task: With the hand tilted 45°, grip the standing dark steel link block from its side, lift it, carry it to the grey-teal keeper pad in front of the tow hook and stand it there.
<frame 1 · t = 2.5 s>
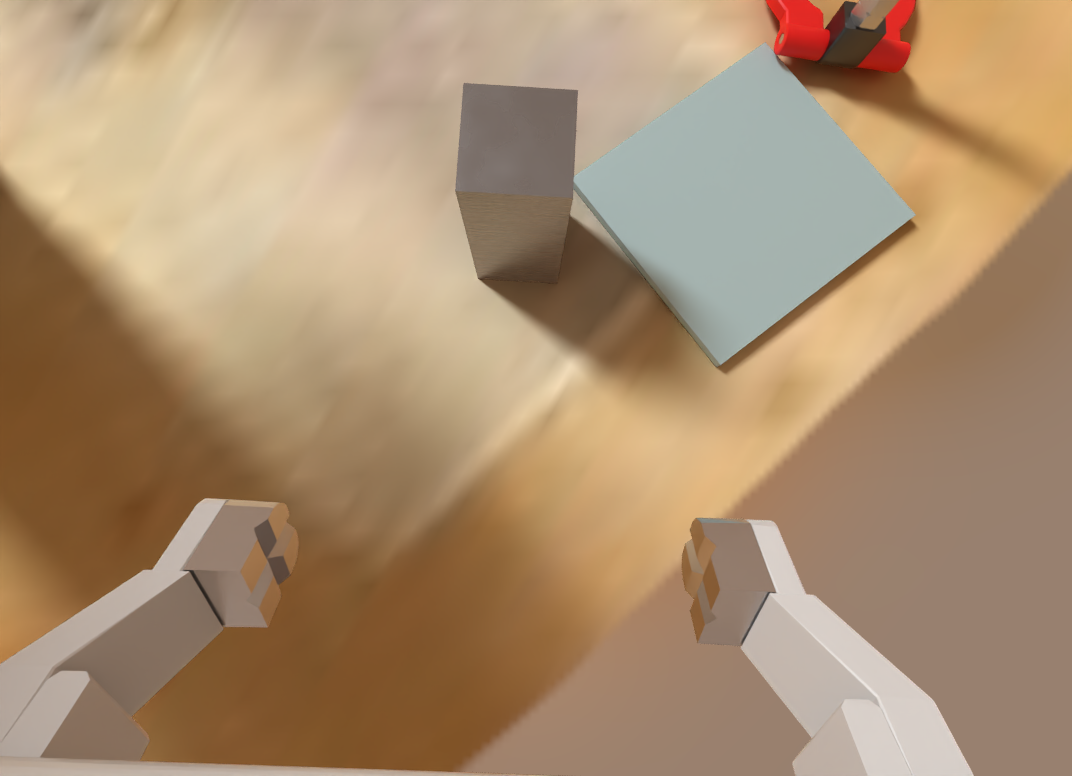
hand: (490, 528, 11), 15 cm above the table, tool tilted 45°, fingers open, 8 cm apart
tow hook: (828, 1, 30), on the table, touching keeper pad
link block: (519, 243, 27), on the table
keeper pad: (739, 202, 28), on the table
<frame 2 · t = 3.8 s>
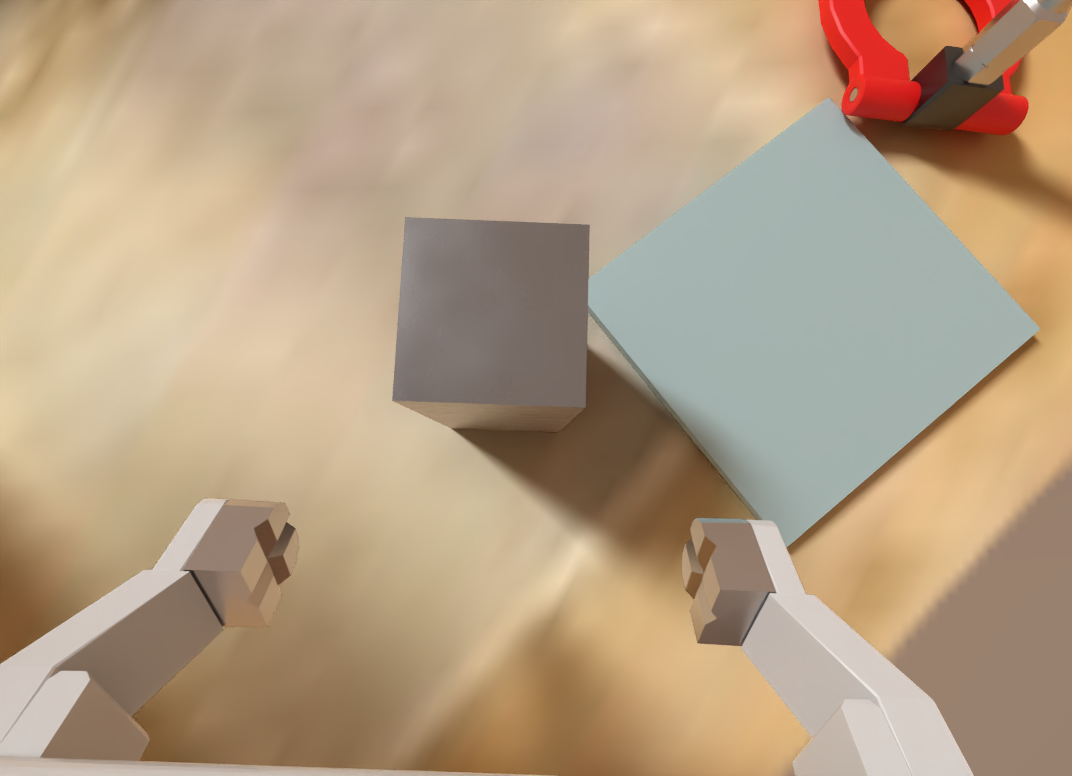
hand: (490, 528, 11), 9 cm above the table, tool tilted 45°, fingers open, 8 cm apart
tow hook: (907, 40, 22), on the table, touching keeper pad
link block: (507, 377, 20), on the table
keeper pad: (800, 313, 21), on the table
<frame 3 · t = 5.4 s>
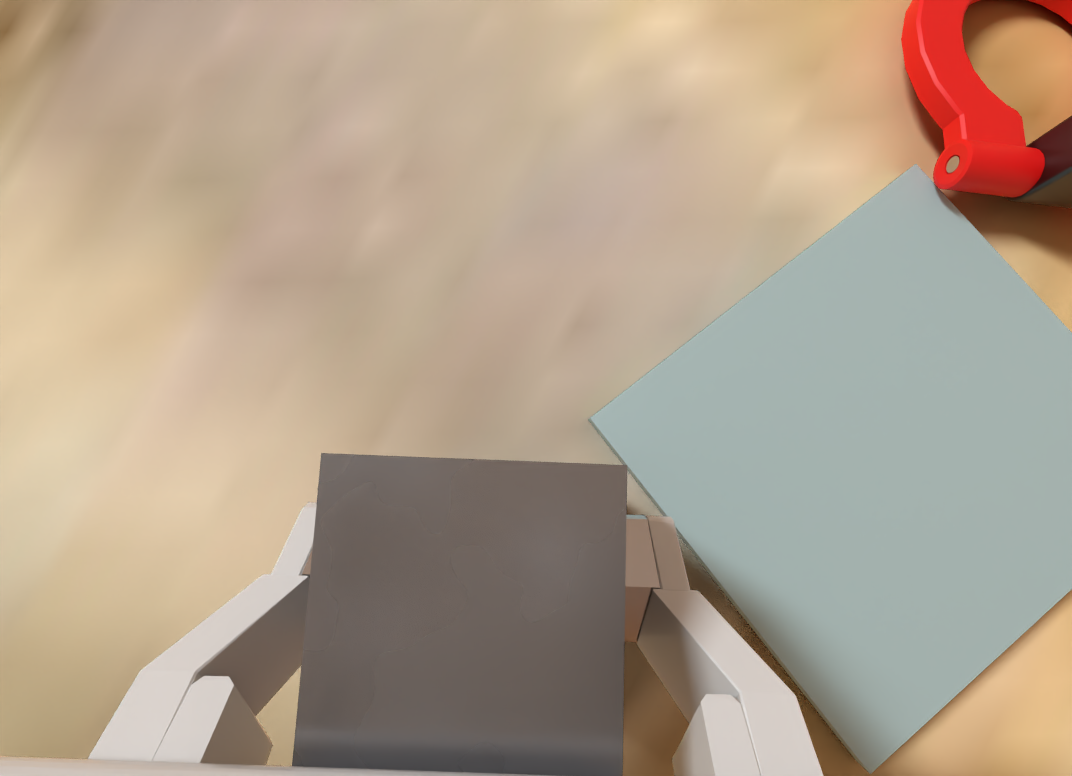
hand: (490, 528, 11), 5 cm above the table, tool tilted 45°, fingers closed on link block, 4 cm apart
tow hook: (1012, 87, 18), on the table, touching keeper pad
link block: (501, 530, 16), on the table, touching gripper
keeper pad: (881, 445, 16), on the table
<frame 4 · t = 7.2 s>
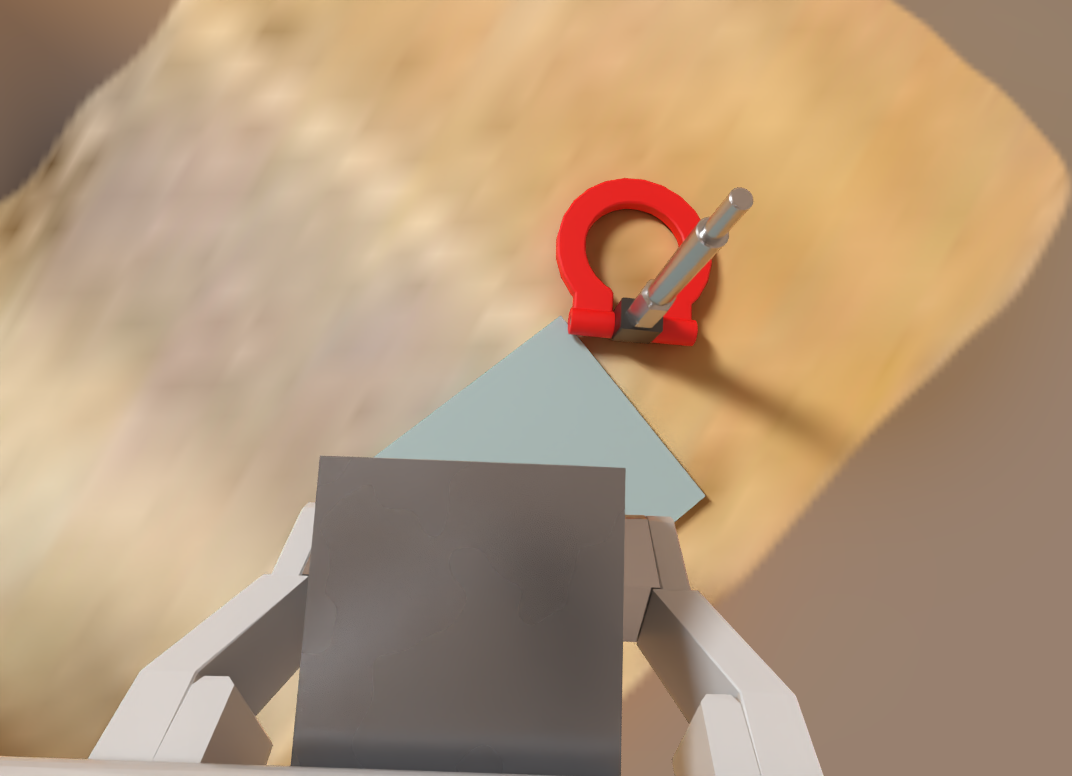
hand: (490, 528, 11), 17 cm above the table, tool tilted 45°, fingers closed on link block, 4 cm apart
tow hook: (629, 265, 30), on the table, touching keeper pad
link block: (500, 531, 16), point 12 cm above the table, touching gripper
keeper pad: (533, 481, 28), on the table
when the fingers open (7 cm above the table, at t = 9.5 s): link block drops 1 cm, resting on keeper pad.
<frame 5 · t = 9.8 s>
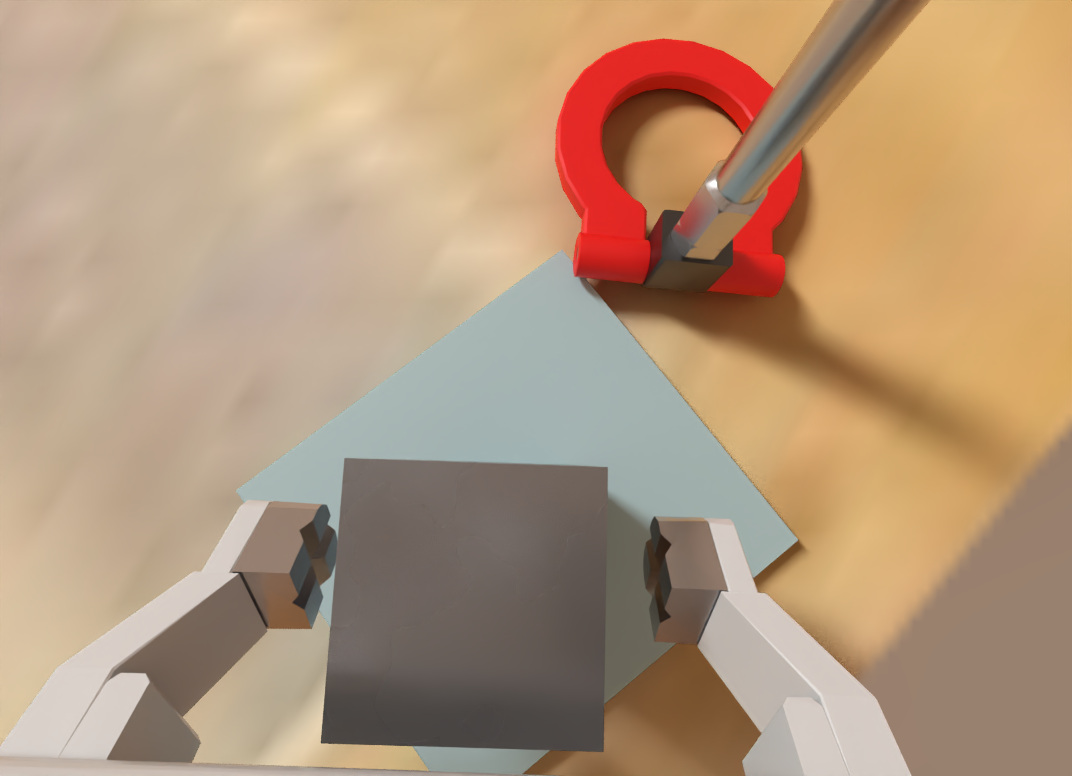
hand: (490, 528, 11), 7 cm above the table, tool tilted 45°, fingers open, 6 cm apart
tow hook: (670, 174, 19), on the table, touching keeper pad
link block: (501, 527, 17), point 1 cm above the table, touching keeper pad
keeper pad: (517, 513, 17), on the table
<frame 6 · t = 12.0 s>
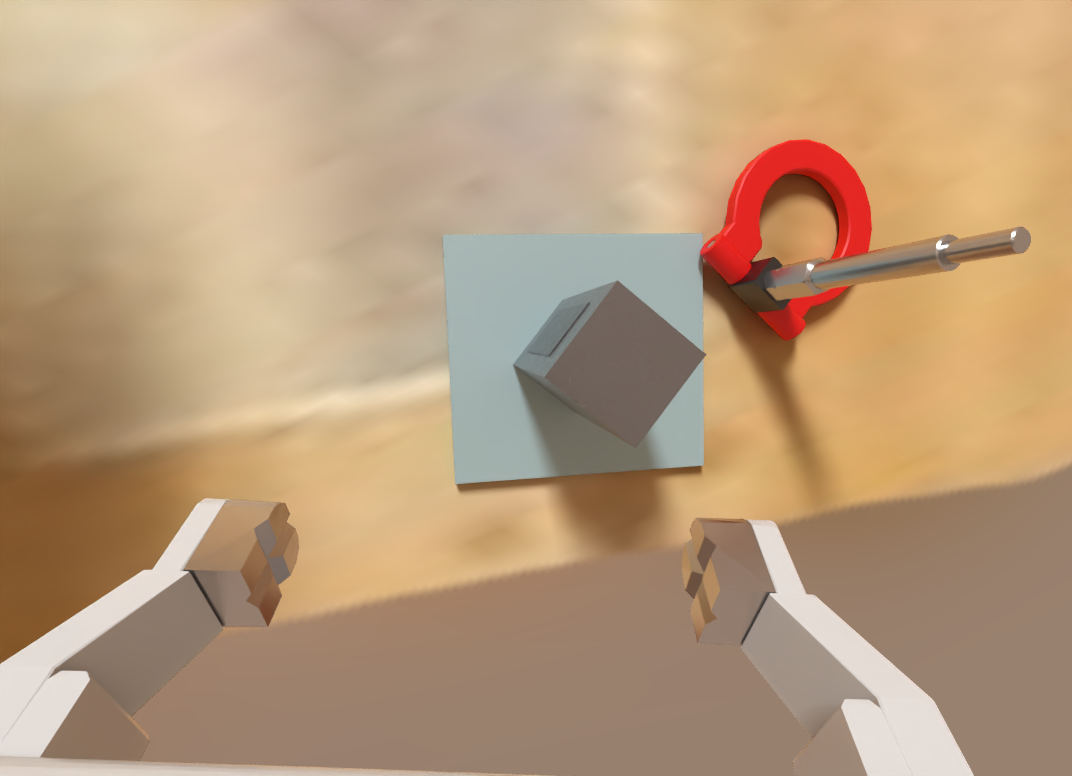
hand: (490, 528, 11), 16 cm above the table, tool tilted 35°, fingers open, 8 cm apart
tow hook: (785, 234, 29), on the table, touching keeper pad
link block: (568, 356, 27), point 1 cm above the table, touching keeper pad
keeper pad: (578, 356, 27), on the table
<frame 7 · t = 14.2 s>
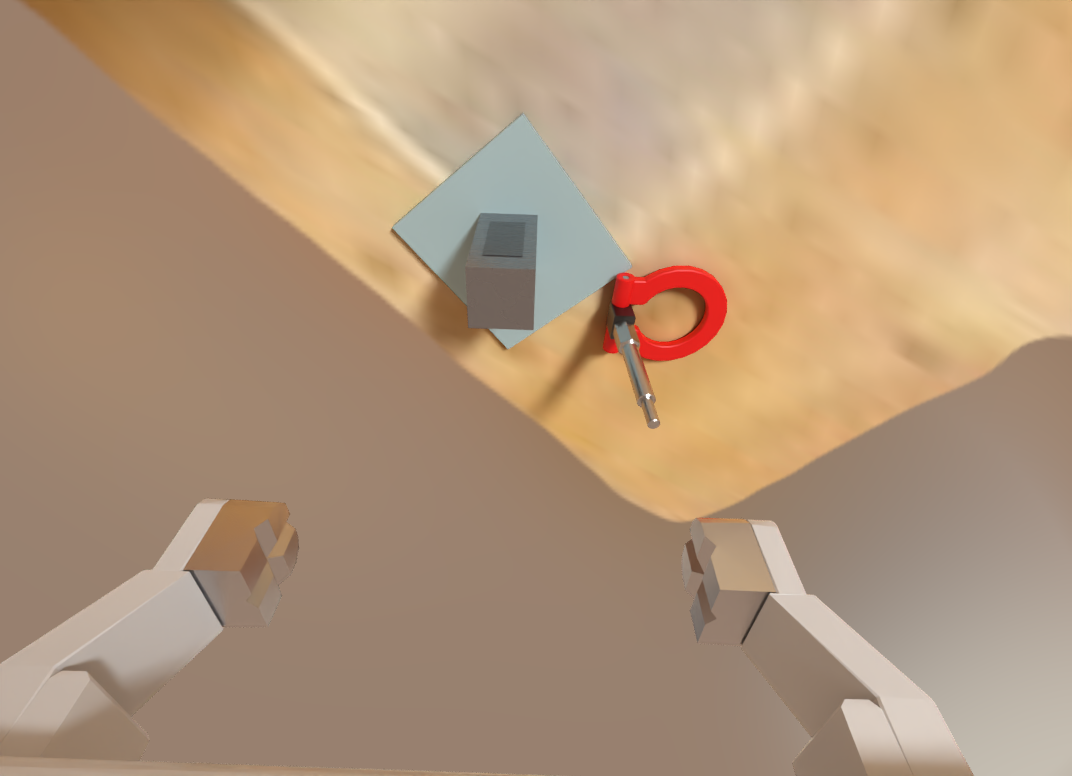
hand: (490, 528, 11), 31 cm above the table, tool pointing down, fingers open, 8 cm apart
tow hook: (664, 310, 43), on the table, touching keeper pad
link block: (509, 241, 39), point 1 cm above the table, touching keeper pad
keeper pad: (514, 244, 40), on the table
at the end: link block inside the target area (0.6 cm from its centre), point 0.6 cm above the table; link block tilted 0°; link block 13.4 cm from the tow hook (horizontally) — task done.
